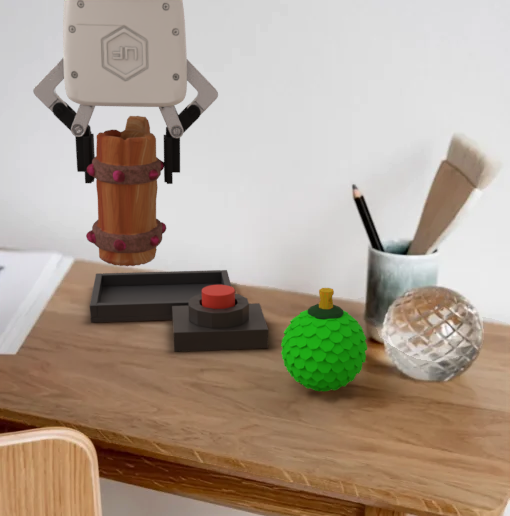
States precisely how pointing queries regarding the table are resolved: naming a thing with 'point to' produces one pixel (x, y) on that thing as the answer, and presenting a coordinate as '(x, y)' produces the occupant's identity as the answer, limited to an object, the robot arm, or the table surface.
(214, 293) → the button
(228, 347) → the panel
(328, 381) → the ornament
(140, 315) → the pan
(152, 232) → the mug
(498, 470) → the table surface
